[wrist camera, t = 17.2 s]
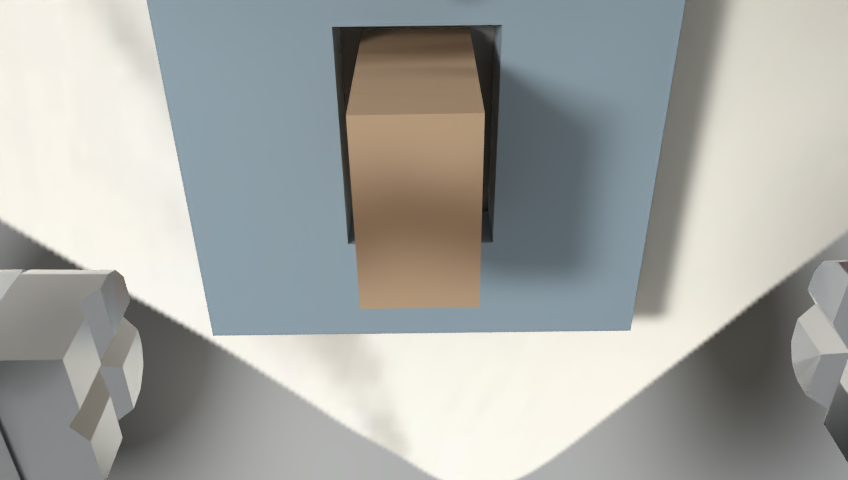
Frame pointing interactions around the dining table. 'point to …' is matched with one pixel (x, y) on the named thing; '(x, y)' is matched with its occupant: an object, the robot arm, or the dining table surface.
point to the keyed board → (329, 163)
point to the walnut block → (416, 168)
